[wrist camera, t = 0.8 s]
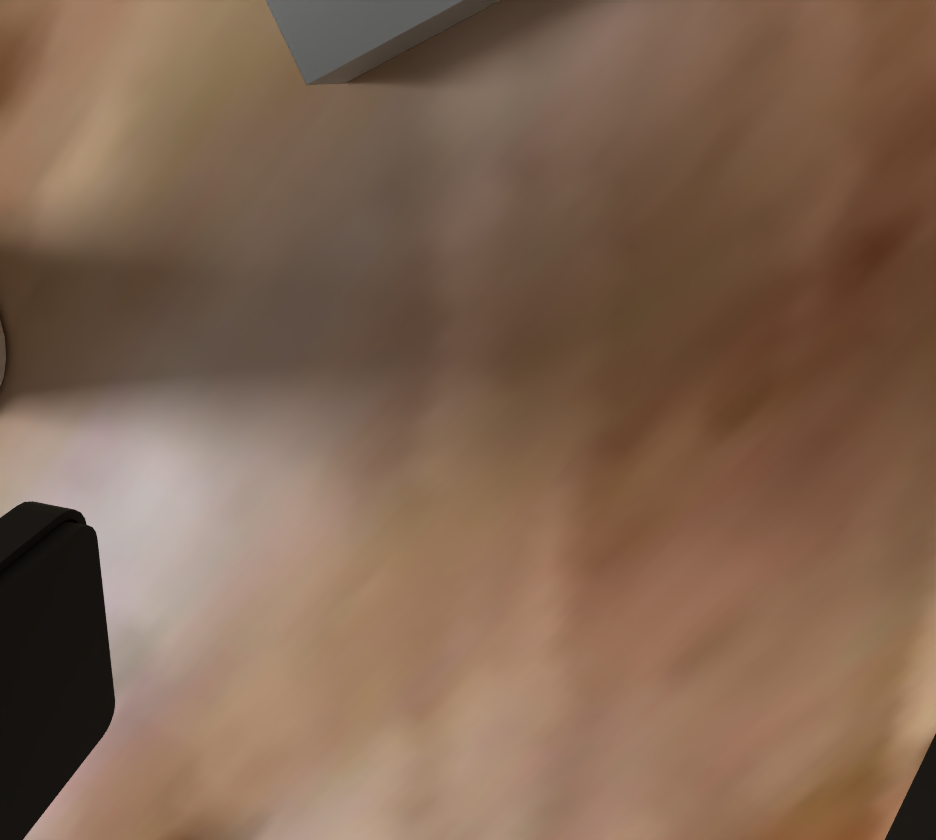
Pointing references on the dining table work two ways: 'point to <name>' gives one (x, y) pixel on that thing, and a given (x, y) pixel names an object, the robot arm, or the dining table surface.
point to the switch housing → (361, 31)
